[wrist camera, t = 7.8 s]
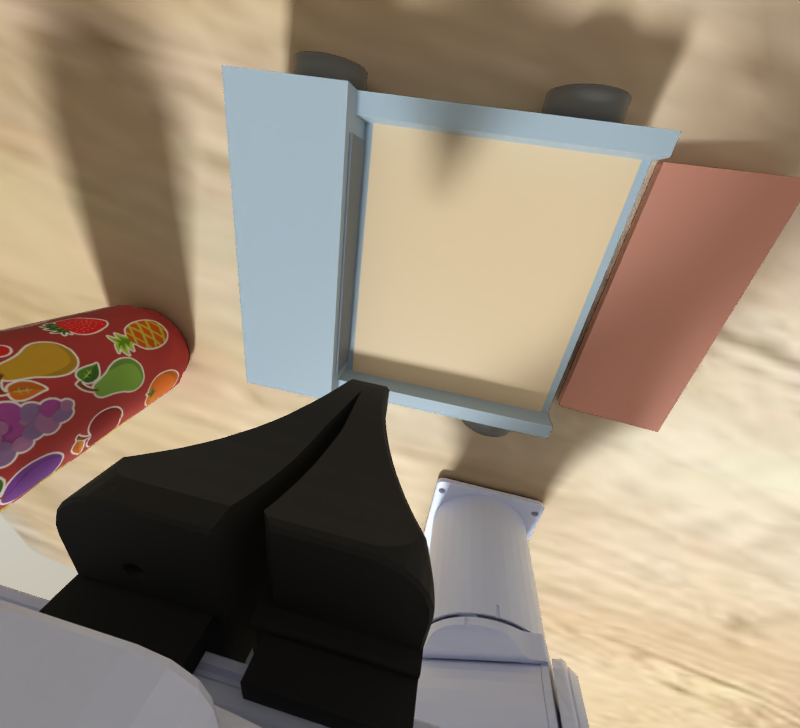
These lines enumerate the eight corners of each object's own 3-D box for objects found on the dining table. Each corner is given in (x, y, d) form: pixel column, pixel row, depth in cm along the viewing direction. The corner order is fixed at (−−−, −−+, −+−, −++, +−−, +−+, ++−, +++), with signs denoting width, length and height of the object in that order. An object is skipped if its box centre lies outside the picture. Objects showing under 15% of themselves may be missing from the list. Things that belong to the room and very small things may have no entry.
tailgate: (557, 399, 21) (652, 424, 20) (559, 405, 21) (657, 431, 19) (656, 164, 15) (798, 180, 14) (663, 161, 15) (813, 179, 14)
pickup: (529, 416, 22) (544, 469, 18) (287, 363, 24) (246, 399, 19) (645, 115, 15) (721, 78, 10) (283, 71, 17) (215, 22, 12)
